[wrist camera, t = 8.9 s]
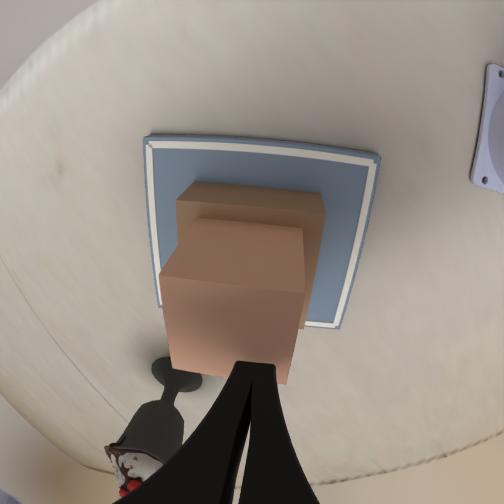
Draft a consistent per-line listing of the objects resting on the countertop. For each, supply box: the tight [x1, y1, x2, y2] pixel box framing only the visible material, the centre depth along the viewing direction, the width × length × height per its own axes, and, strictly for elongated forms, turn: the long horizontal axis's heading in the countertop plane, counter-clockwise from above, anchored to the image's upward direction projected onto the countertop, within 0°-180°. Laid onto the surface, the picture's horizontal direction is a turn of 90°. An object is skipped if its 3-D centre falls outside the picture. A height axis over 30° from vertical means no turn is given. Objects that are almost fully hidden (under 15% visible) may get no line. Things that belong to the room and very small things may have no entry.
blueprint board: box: [143, 135, 381, 329], centre depth 18 cm, size 13×12×4 cm
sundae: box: [104, 358, 202, 497], centre depth 21 cm, size 7×7×15 cm
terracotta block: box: [158, 218, 306, 385], centre depth 14 cm, size 5×5×5 cm
